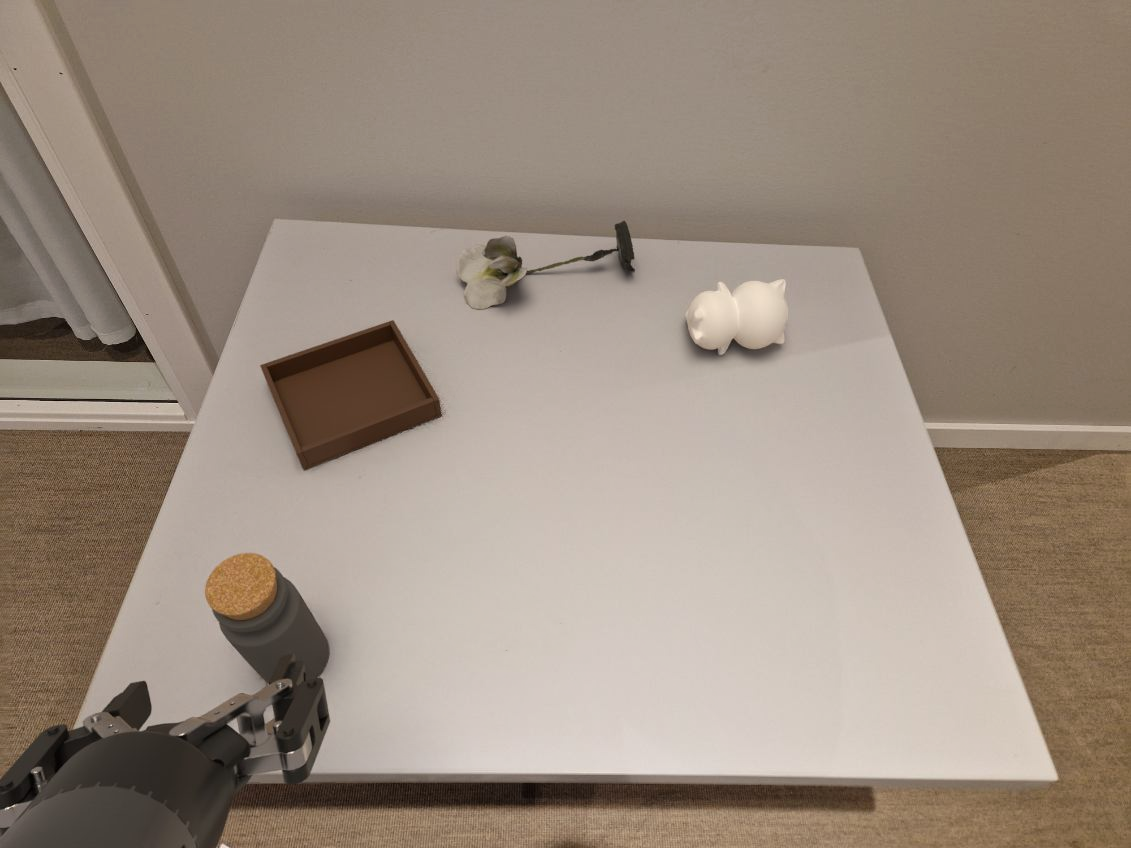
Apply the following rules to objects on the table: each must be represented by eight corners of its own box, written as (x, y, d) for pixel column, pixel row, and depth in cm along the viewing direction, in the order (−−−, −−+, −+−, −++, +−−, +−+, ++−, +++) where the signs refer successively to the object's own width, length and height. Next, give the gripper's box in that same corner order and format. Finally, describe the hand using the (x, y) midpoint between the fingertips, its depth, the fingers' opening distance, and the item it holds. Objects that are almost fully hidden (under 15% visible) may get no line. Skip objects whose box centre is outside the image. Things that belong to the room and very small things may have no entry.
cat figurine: (696, 291, 79) (802, 279, 80) (669, 276, 89) (763, 265, 90) (698, 369, 82) (799, 355, 83) (671, 346, 92) (762, 334, 93)
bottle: (297, 612, 65) (245, 530, 53) (344, 650, 63) (301, 574, 51) (245, 665, 62) (177, 591, 50) (292, 706, 60) (233, 640, 48)
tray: (303, 470, 74) (296, 453, 72) (267, 382, 81) (259, 364, 78) (442, 416, 79) (439, 398, 77) (397, 337, 86) (393, 319, 83)
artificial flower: (641, 296, 94) (647, 252, 84) (468, 328, 93) (455, 286, 83) (626, 239, 97) (630, 190, 87) (458, 268, 96) (444, 222, 86)
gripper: (268, 755, 29) (329, 603, 44) (-140, 835, 26) (77, 645, 42) (300, 923, 30) (348, 716, 46) (-89, 1013, 28) (104, 763, 43)
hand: (218, 682), depth 44 cm, fingers open, 8 cm apart
